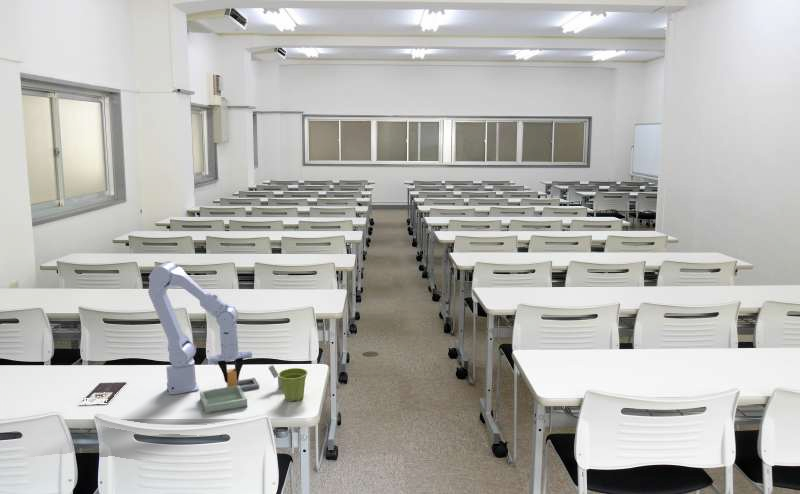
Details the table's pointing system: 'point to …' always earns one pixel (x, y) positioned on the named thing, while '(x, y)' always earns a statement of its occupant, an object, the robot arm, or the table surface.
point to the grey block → (275, 375)
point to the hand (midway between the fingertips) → (231, 380)
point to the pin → (231, 377)
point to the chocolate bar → (109, 391)
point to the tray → (223, 399)
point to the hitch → (248, 387)
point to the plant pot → (293, 383)
